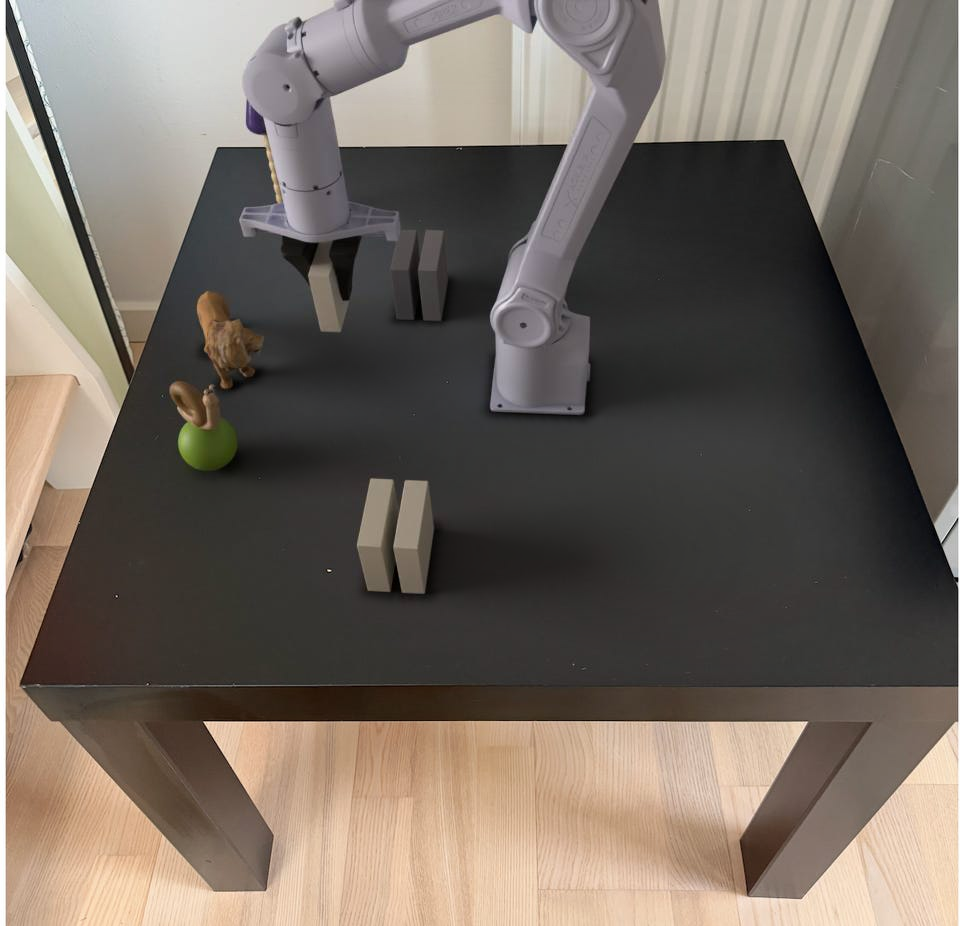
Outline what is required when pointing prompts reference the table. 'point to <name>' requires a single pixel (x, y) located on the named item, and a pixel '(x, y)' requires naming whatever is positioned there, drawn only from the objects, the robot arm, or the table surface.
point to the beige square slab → (326, 290)
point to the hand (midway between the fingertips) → (334, 293)
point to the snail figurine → (203, 428)
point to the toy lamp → (258, 127)
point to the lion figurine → (226, 338)
